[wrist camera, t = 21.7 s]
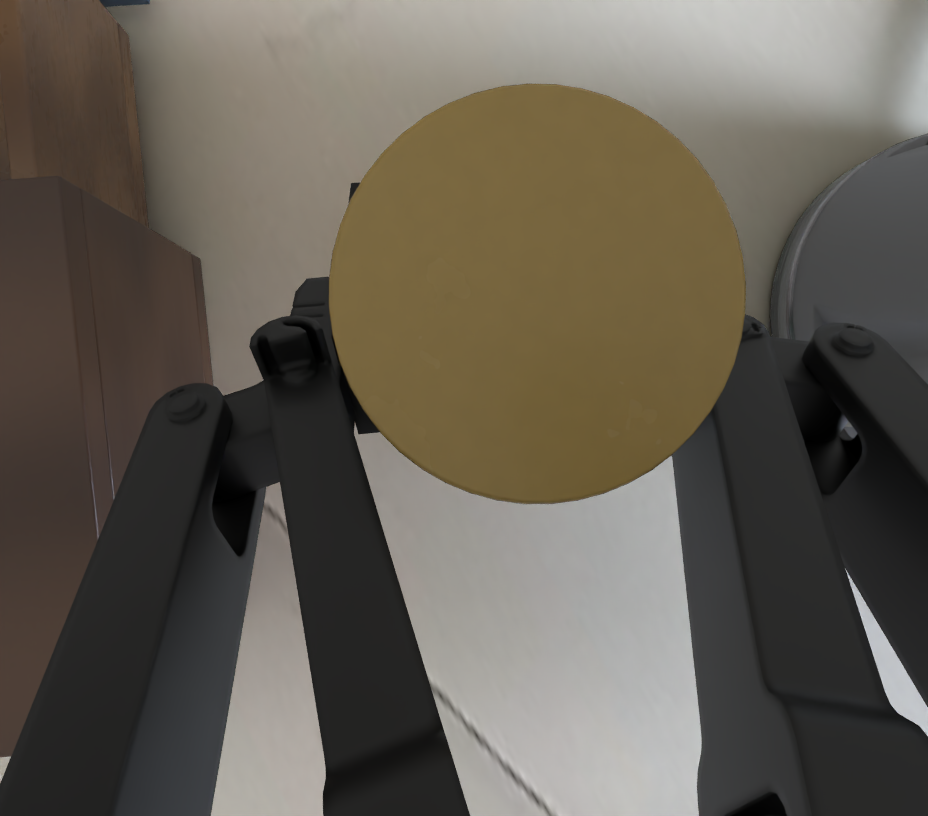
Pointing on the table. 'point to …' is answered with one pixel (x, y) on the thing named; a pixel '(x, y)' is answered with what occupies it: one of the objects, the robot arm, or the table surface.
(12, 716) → the cabinet
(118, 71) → the drawer
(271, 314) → the table surface
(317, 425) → the robot arm
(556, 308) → the tea tin
